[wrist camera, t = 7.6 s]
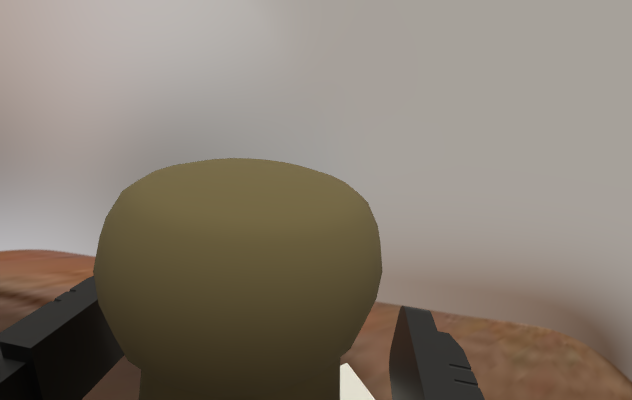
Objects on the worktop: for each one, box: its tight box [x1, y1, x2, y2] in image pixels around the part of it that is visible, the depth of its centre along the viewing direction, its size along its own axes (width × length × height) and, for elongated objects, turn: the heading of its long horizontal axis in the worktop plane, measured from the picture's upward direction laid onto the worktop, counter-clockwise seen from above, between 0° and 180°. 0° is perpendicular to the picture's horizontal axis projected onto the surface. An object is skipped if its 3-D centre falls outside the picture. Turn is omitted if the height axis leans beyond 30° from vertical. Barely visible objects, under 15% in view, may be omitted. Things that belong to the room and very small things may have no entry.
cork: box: [93, 158, 382, 400], centre depth 7 cm, size 6×6×11 cm
